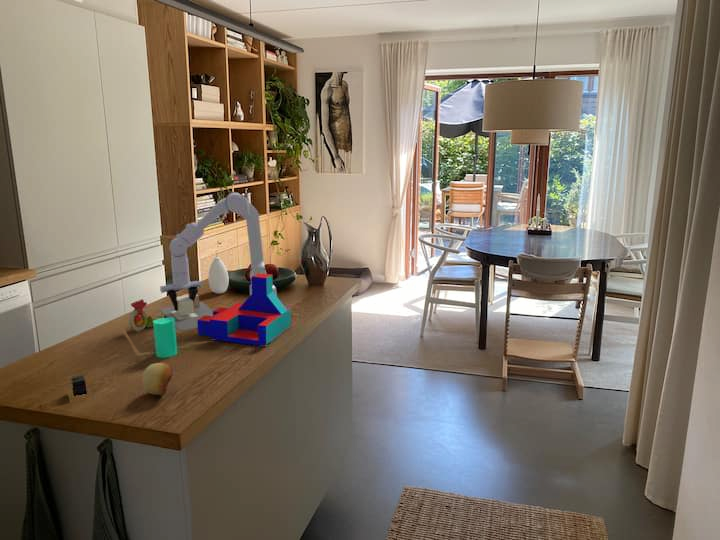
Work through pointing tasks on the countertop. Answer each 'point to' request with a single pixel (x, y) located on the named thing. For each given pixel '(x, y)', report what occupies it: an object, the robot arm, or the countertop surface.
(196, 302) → the terracotta brick
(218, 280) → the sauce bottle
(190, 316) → the baseplate
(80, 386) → the black block
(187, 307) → the cream brick
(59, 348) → the countertop surface
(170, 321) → the candle
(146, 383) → the fruit
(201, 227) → the robot arm
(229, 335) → the building blocks toy
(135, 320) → the bird rattle
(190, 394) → the countertop surface
